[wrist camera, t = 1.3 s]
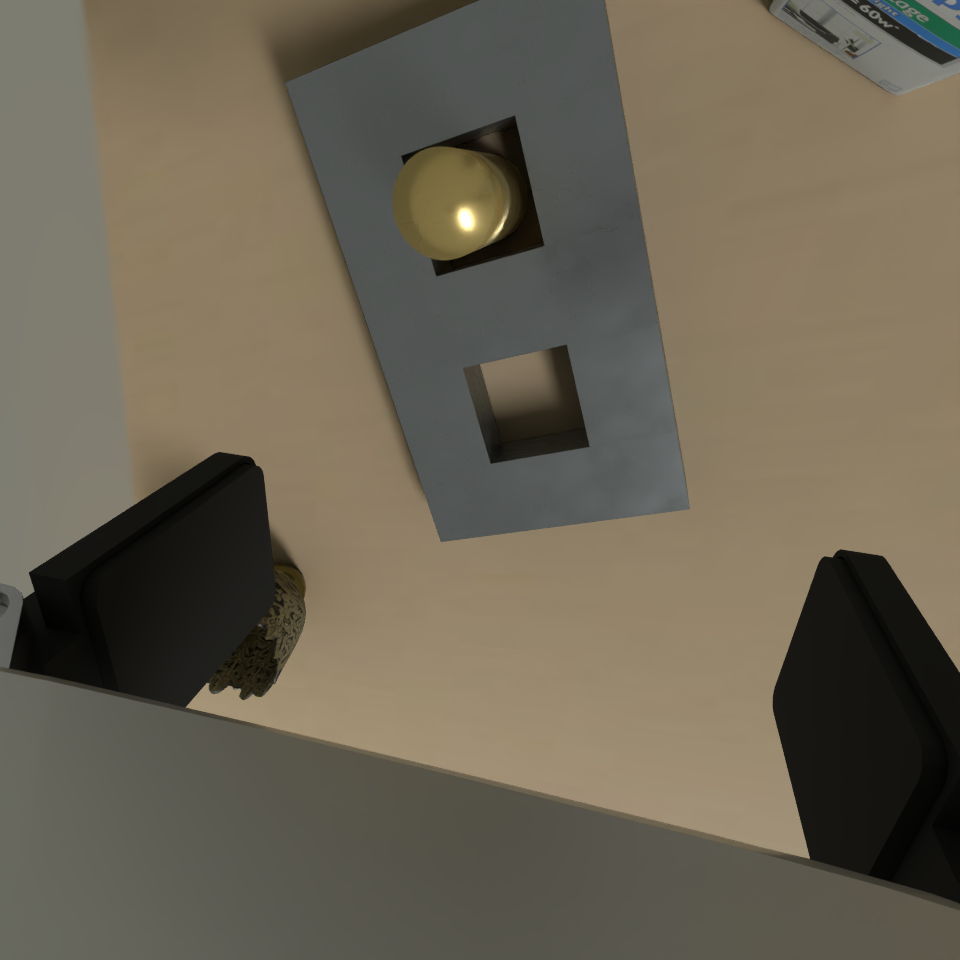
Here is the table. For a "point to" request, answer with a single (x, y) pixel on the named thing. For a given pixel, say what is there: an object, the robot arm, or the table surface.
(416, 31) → the jig
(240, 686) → the cup
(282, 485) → the table surface
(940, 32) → the light bulb box
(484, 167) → the seated bushing
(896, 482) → the table surface
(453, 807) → the robot arm
